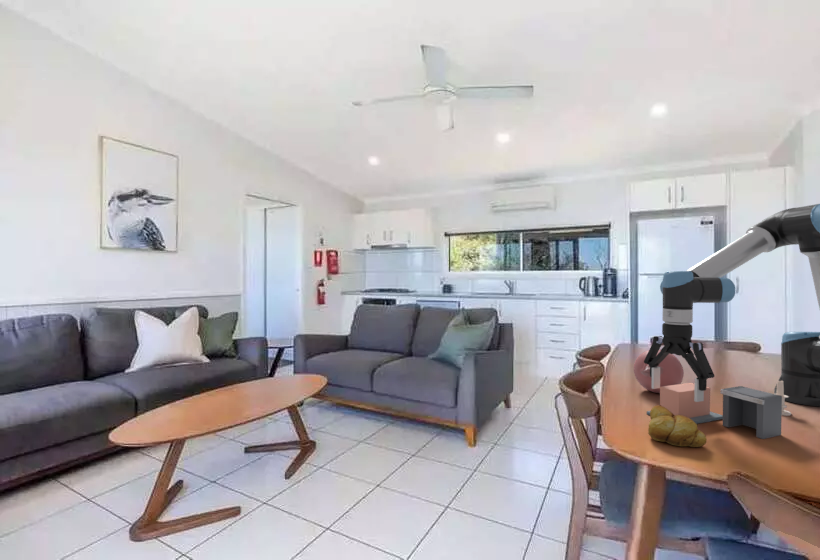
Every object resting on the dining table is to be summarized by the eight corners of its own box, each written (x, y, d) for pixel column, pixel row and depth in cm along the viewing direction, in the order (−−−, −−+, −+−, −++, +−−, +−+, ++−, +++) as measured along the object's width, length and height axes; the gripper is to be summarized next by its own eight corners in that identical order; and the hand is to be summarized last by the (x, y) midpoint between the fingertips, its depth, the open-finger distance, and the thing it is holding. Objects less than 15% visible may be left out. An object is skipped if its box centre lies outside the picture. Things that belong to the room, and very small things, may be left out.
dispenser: (739, 421, 121) (740, 385, 120) (782, 435, 111) (782, 396, 110) (719, 425, 118) (720, 388, 117) (761, 439, 108) (762, 399, 108)
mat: (688, 407, 134) (688, 404, 134) (724, 418, 123) (724, 415, 123) (646, 414, 127) (646, 411, 127) (680, 426, 117) (680, 423, 117)
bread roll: (710, 444, 105) (710, 413, 105) (700, 456, 99) (700, 423, 99) (653, 430, 115) (653, 401, 115) (641, 440, 108) (641, 409, 108)
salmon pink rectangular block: (690, 408, 130) (690, 382, 130) (709, 414, 125) (710, 387, 124) (659, 413, 126) (660, 386, 126) (678, 419, 120) (678, 392, 120)
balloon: (619, 393, 148) (620, 350, 148) (644, 383, 160) (644, 344, 160) (667, 404, 136) (668, 357, 136) (690, 393, 148) (690, 350, 148)
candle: (766, 412, 128) (767, 378, 128) (770, 408, 132) (771, 376, 131) (789, 417, 124) (790, 382, 124) (792, 413, 128) (793, 379, 127)
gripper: (632, 318, 134) (631, 384, 134) (711, 329, 110) (710, 409, 111) (649, 317, 136) (648, 382, 137) (730, 327, 113) (729, 405, 113)
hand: (676, 394), depth 124 cm, fingers open, 13 cm apart
